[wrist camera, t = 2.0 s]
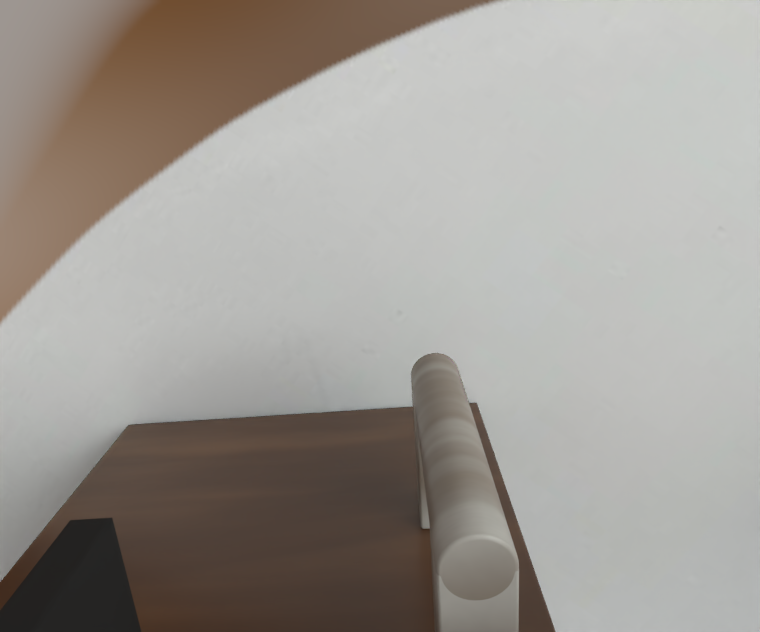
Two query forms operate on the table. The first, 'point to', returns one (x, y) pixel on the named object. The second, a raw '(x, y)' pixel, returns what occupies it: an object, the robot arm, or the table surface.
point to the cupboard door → (315, 521)
